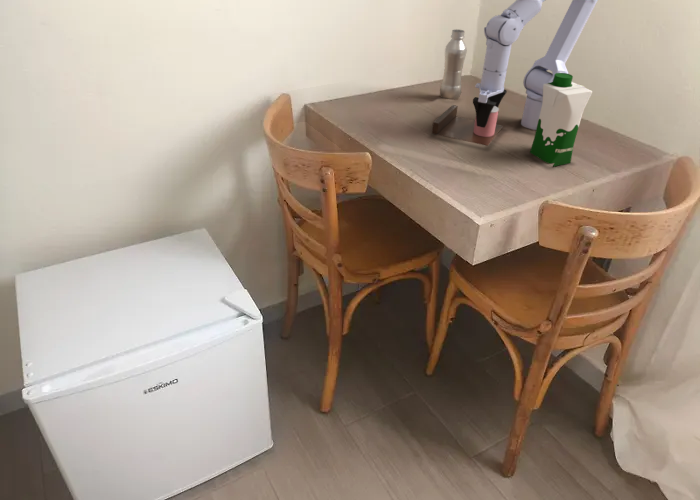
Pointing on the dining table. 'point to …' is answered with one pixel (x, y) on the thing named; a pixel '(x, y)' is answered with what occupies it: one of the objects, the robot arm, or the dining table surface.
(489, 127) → the yogurt pot
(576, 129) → the milk carton
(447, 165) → the dining table surface
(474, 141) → the serving board
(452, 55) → the plastic bottle
